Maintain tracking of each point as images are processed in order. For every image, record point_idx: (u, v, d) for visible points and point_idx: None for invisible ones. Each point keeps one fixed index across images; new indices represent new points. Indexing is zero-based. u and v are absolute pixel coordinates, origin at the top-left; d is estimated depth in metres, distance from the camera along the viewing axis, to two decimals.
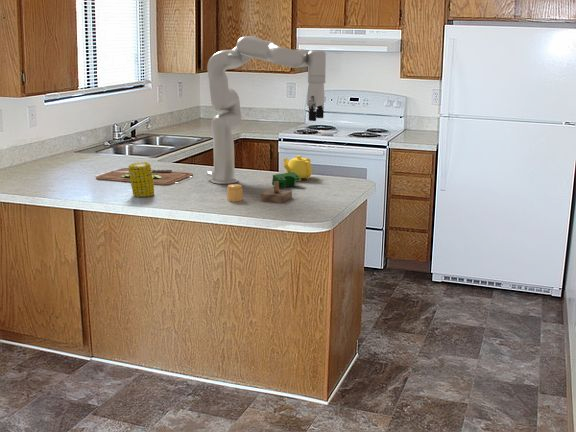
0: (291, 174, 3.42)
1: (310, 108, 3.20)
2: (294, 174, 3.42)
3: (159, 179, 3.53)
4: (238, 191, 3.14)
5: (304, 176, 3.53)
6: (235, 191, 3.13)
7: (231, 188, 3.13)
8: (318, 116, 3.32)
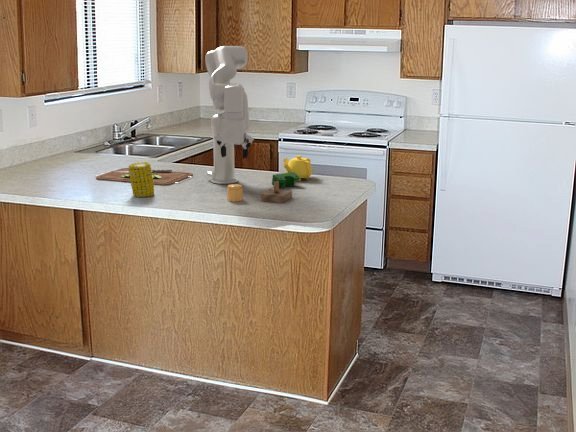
0: (291, 174, 3.42)
1: (250, 145, 3.08)
2: (293, 174, 3.43)
3: (159, 179, 3.53)
4: (238, 191, 3.14)
5: (304, 176, 3.53)
6: (235, 191, 3.13)
7: (231, 188, 3.13)
8: (224, 155, 3.13)
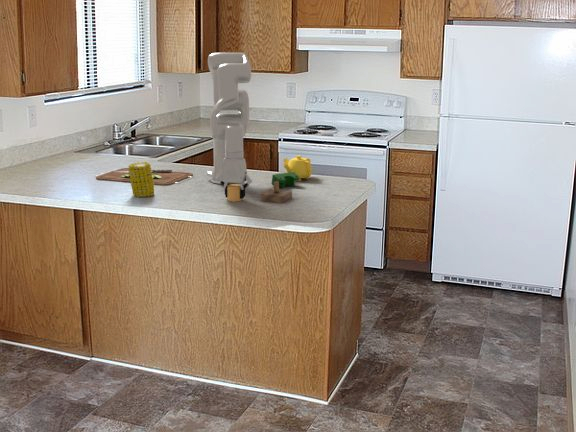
0: (291, 174, 3.42)
1: (246, 185, 3.14)
2: (293, 174, 3.43)
3: (159, 179, 3.53)
4: (238, 191, 3.14)
5: (304, 176, 3.53)
6: (235, 191, 3.13)
7: (231, 188, 3.13)
8: None
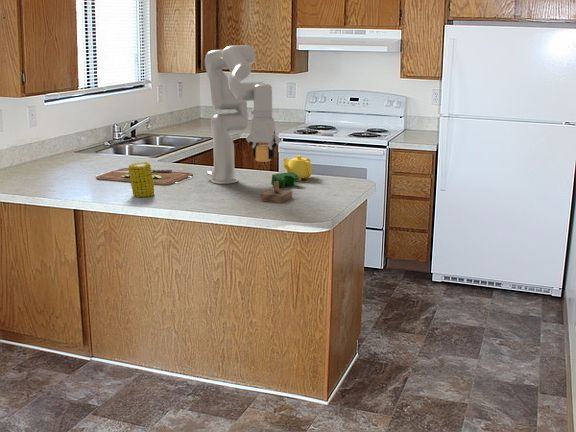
0: (290, 174, 3.42)
1: (275, 145, 3.09)
2: (293, 174, 3.43)
3: (159, 179, 3.53)
4: (267, 151, 3.10)
5: (304, 176, 3.53)
6: (264, 151, 3.09)
7: (259, 148, 3.09)
8: None
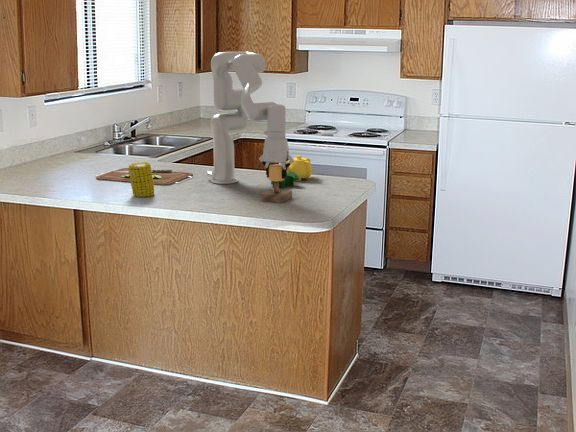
0: (290, 174, 3.42)
1: (288, 165, 3.12)
2: (293, 174, 3.43)
3: (159, 179, 3.53)
4: (280, 171, 3.12)
5: (304, 176, 3.53)
6: (277, 171, 3.12)
7: (273, 168, 3.12)
8: None
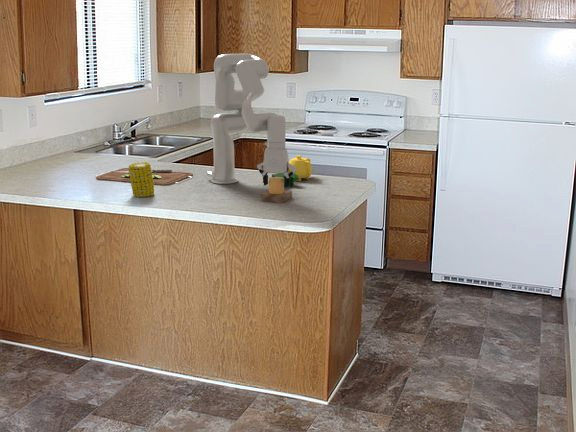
0: None
1: (292, 174, 3.12)
2: None
3: (159, 179, 3.53)
4: (280, 184, 3.14)
5: (304, 176, 3.53)
6: (277, 184, 3.13)
7: (273, 181, 3.13)
8: (266, 183, 3.17)
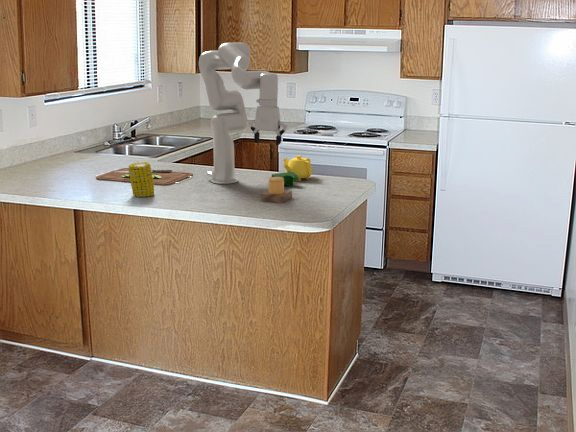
0: (290, 174, 3.43)
1: (283, 132, 3.15)
2: (292, 173, 3.43)
3: (159, 179, 3.53)
4: (280, 184, 3.14)
5: (304, 176, 3.53)
6: (277, 184, 3.13)
7: (273, 181, 3.13)
8: (257, 141, 3.20)
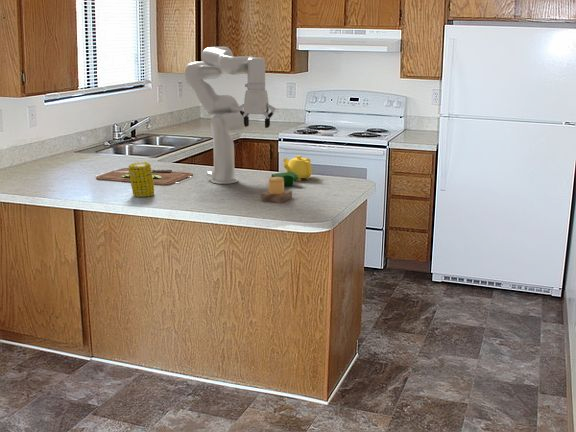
0: (290, 173, 3.43)
1: (272, 114, 3.22)
2: (292, 173, 3.44)
3: (159, 179, 3.53)
4: (280, 184, 3.14)
5: (304, 176, 3.53)
6: (277, 184, 3.13)
7: (273, 181, 3.13)
8: (246, 124, 3.27)
